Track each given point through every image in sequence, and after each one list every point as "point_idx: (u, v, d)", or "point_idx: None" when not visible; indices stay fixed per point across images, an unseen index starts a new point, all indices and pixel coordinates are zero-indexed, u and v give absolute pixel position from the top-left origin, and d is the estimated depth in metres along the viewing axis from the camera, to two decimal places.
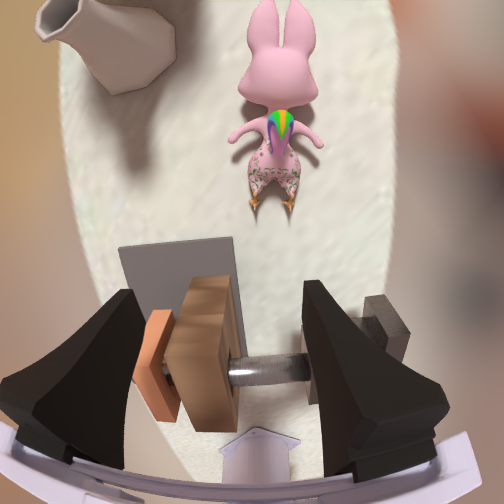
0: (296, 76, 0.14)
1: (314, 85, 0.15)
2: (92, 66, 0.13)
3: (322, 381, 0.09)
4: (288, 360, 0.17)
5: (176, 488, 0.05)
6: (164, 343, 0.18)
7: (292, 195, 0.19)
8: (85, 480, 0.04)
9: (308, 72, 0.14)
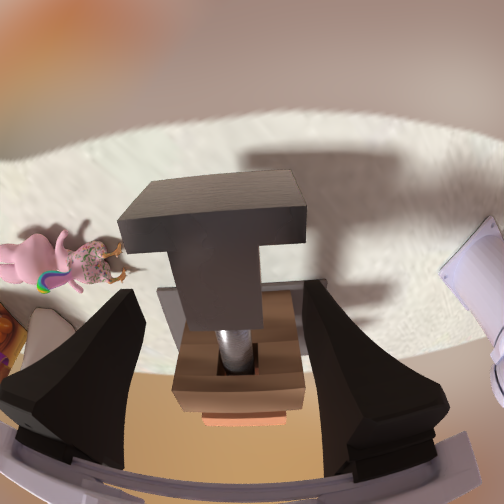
0: (22, 264, 0.18)
1: (28, 241, 0.18)
2: None
3: (322, 381, 0.09)
4: None
5: (176, 488, 0.05)
6: None
7: (103, 257, 0.19)
8: (85, 480, 0.04)
9: (20, 252, 0.18)
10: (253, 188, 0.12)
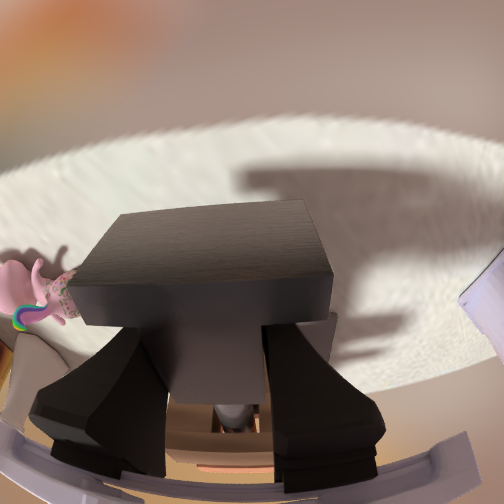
0: None
1: (2, 269, 0.15)
2: None
3: None
4: None
5: (176, 488, 0.05)
6: None
7: None
8: (85, 480, 0.04)
9: None
10: (254, 236, 0.08)
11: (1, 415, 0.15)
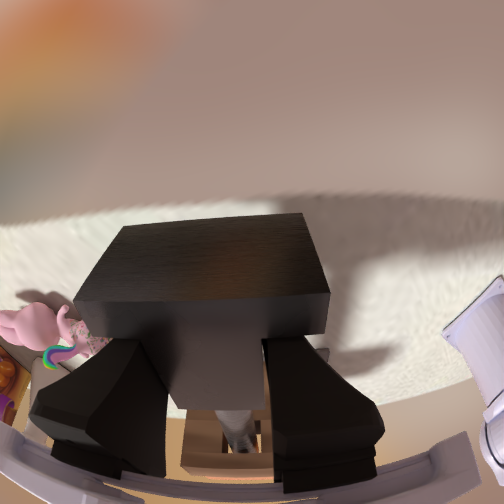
0: (25, 335, 0.16)
1: (28, 311, 0.17)
2: None
3: (269, 386, 0.09)
4: None
5: (176, 488, 0.05)
6: None
7: None
8: (85, 480, 0.04)
9: (20, 322, 0.16)
10: (254, 253, 0.08)
11: (25, 434, 0.17)
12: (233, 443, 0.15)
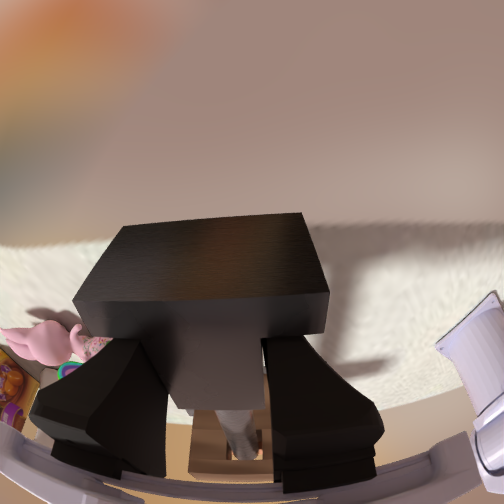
0: (38, 352, 0.17)
1: (41, 329, 0.18)
2: None
3: None
4: None
5: (176, 488, 0.05)
6: None
7: None
8: (85, 480, 0.04)
9: (34, 339, 0.18)
10: (253, 252, 0.08)
11: None
12: (233, 443, 0.15)
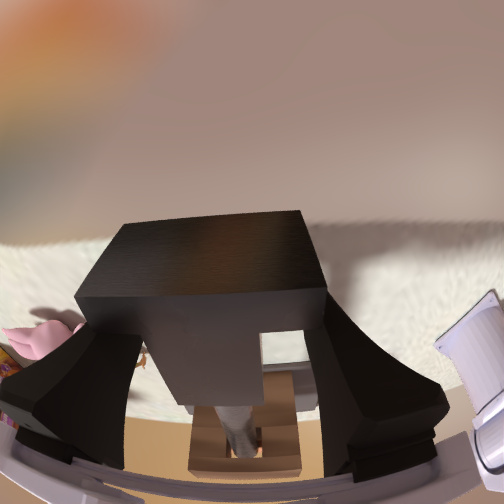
0: (42, 352, 0.18)
1: (44, 329, 0.18)
2: None
3: (322, 381, 0.09)
4: None
5: (176, 488, 0.05)
6: None
7: None
8: (85, 480, 0.04)
9: (37, 339, 0.18)
10: (252, 248, 0.09)
11: None
12: (233, 440, 0.15)
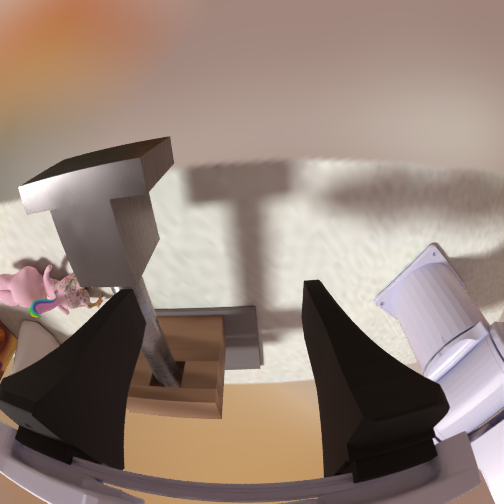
0: (17, 292, 0.21)
1: (21, 273, 0.21)
2: None
3: (322, 381, 0.09)
4: None
5: (176, 488, 0.05)
6: None
7: (81, 288, 0.22)
8: (85, 480, 0.04)
9: (15, 282, 0.21)
10: (119, 152, 0.11)
11: None
12: (147, 359, 0.18)
